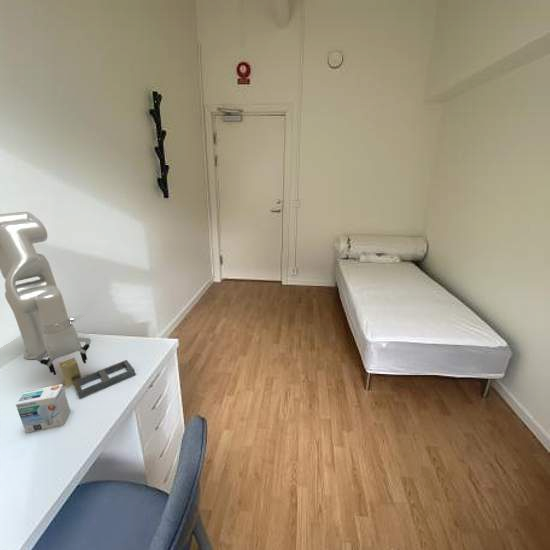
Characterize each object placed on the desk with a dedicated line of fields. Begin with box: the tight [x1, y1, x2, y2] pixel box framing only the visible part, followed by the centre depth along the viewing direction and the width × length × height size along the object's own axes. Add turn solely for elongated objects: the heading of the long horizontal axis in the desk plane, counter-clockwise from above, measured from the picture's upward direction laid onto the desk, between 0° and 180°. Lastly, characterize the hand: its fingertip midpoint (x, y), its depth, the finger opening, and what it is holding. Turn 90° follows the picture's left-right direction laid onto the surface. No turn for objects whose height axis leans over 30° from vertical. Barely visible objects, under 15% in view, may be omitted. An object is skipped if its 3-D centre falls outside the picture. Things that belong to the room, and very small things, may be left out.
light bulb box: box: [15, 383, 71, 434], centre depth 99 cm, size 11×7×11 cm, turn 105°
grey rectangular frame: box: [72, 359, 136, 400], centre depth 119 cm, size 9×19×2 cm, turn 131°
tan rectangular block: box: [58, 357, 82, 388], centre depth 119 cm, size 5×5×8 cm
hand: (69, 367), depth 117 cm, fingers open, 9 cm apart
